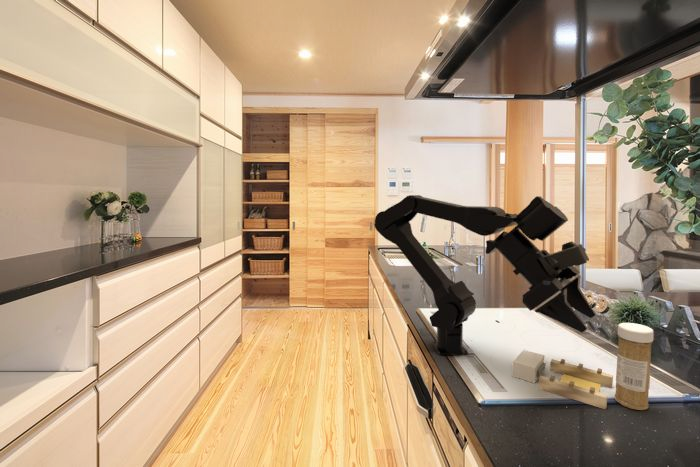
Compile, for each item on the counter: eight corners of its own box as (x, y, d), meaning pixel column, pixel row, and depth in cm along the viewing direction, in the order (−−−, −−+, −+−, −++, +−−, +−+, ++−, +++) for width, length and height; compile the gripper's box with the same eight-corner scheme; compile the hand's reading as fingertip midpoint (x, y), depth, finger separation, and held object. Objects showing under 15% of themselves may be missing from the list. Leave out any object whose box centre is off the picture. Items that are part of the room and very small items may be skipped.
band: (555, 389, 63) (555, 388, 63) (563, 374, 68) (563, 374, 68) (595, 402, 59) (595, 401, 59) (601, 385, 64) (601, 384, 64)
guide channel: (538, 388, 64) (539, 374, 64) (551, 368, 71) (552, 356, 71) (605, 409, 57) (606, 394, 57) (612, 385, 64) (613, 372, 64)
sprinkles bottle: (652, 405, 58) (658, 327, 57) (642, 414, 56) (648, 333, 54) (619, 392, 62) (624, 319, 61) (609, 401, 59) (613, 325, 58)
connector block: (512, 376, 68) (512, 361, 68) (523, 363, 73) (523, 349, 73) (537, 384, 65) (537, 368, 65) (546, 370, 70) (547, 356, 70)
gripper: (545, 232, 57) (627, 311, 51) (568, 225, 71) (635, 286, 64) (495, 274, 63) (563, 349, 57) (526, 259, 77) (583, 318, 70)
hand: (589, 323), depth 62 cm, fingers open, 9 cm apart
